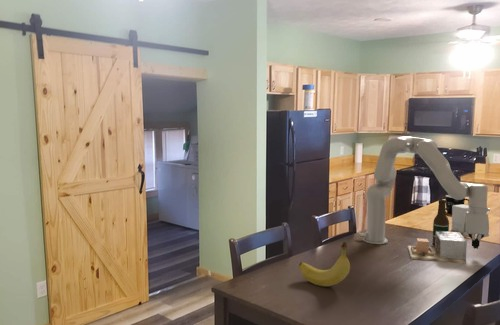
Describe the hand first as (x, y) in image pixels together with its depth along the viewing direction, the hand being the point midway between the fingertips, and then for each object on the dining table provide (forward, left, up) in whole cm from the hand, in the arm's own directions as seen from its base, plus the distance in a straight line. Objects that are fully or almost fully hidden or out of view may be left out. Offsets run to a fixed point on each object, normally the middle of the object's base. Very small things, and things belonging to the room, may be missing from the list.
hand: (475, 247), depth 199 cm
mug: (+9, +100, -5) cm, 101 cm away
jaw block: (-23, 0, -4) cm, 24 cm away
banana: (-66, -52, -5) cm, 85 cm away
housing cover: (-11, 0, -4) cm, 12 cm away
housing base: (-17, 0, -5) cm, 18 cm away
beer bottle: (-12, +19, -5) cm, 23 cm away
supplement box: (+5, +51, -5) cm, 51 cm away
